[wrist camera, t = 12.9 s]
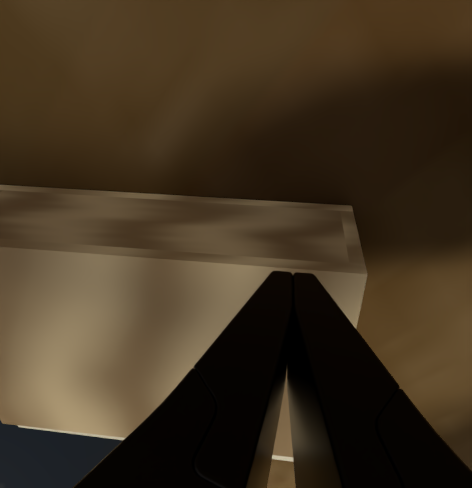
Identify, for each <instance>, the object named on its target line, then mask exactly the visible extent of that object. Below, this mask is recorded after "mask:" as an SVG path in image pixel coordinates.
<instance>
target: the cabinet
mask: <svg viewBox="0 0 472 488" xmlns="http://www.w3.org/2000/svg"><path fill="white" fill-rule="evenodd" d="M272 271H287V272H291V273H292V274H294V273H295V272H300V273H312V274H314V275H315V276H316V277H317V279H318V280H319V281H320V282H321V284H322V285H323V286H324V288H325V289H326V290H327V292H328V293H329V294H330V296H331V297H332V298H333V300H334V301H335V302H336V303H337V305H338V306H339V307H340V309H341V310H342V311H343V313H344V314H345V315H346V317H347V318H348V319H349V320H350V322H351V323H352V324H353V326H354V327H355V328H357V323H358V318H359V313H360V308H361V304H362V299H363V294H364V289H365V284H366V279H367V275H368V274H367V270H366V265H365V261H364V256H363V252H362V248H361V243H360V239H359V235H358V230H357V226H356V222H355V217H354V213H353V208H352V206H348V205H332V204H315V203H298V202H281V201H265V200H248V199H231V198H214V197H198V196H181V195H164V194H147V193H131V192H114V191H97V190H80V189H63V188H47V187H30V186H13V185H0V419H1V422H2V423H4V424H13V425H20V426H29V427H37V428H46V429H54V430H63V431H72V432H80V433H89V434H97V435H106V436H114V437H123V438H126V437H127V436H128V435H129V434H130V433H132V432H133V431H134V430H135V429H136V428H137V427H138V426H139V425H140V424H141V423H142V422H143V421H144V420H145V419H146V418H147V417H148V416H149V415H150V414H151V413H152V412H153V411H154V410H155V409H156V408H157V407H158V406H159V405H160V404H161V403H162V402H163V401H164V400H165V399H166V398H167V397H168V395H169V394H170V393H171V392H172V391H173V390H174V389H175V388H176V386H177V385H178V384H179V383H180V382H181V381H182V379H183V378H184V377H185V376H186V375H187V373H188V372H189V371H190V370H191V369H192V368H194V365H195V364H196V363H197V361H198V360H199V359H200V358H201V357H202V355H203V354H204V353H205V352H206V351H207V349H208V348H209V347H210V346H211V345H212V343H213V342H214V341H215V340H216V338H217V337H218V336H219V335H220V334H221V332H222V331H223V330H224V329H225V328H226V326H227V325H228V324H229V323H230V321H231V320H232V319H233V318H234V317H235V315H236V314H237V313H238V312H239V311H240V309H241V308H242V307H243V306H244V305H245V303H246V302H247V301H248V300H249V298H250V297H251V296H252V295H253V294H254V292H255V291H256V290H257V289H258V288H259V286H260V285H261V284H262V283H263V282H264V280H265V279H266V278H267V277H268V275H269V274H270V273H271V272H272ZM273 455H277V456H285V457H293V449H292V438H291V426H290V415H289V403H288V392H287V372H286V381H285V388H284V394H283V400H282V405H281V411H280V416H279V422H278V427H277V433H276V438H275V444H274V449H273Z"/></svg>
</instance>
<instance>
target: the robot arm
mask: <svg viewBox="0 0 472 488" xmlns="http://www.w3.org/2000/svg"><path fill="white" fill-rule="evenodd" d="M286 372H287V392H288V403H289V415H290V426H291V438H292V449H293V461H294V472H295V484H296V488H472V471H471V470H470V469H469V468H468V467H467V466H466V465H465V464H464V463H463V461H462V460H461V459H460V458H459V457H458V456H457V455H456V454H455V453H454V451H453V450H452V449H451V448H450V447H449V446H448V445H447V444H446V443H445V441H444V440H443V439H442V438H441V437H440V436H439V435H438V434H437V432H436V431H435V430H434V429H433V428H432V426H431V425H430V424H429V423H428V422H427V420H426V419H425V418H424V417H423V415H422V414H421V413H420V412H419V410H418V409H417V408H416V407H415V405H414V404H413V403H412V402H411V400H410V399H409V398H408V396H407V395H406V394H405V392H404V391H403V390H402V389H399V388H400V387H399V385H398V383H397V382H396V381H395V379H394V378H393V377H392V376H391V374H390V373H389V372H388V370H387V369H386V368H385V366H384V365H383V364H382V362H381V361H380V360H379V359H378V357H377V356H376V355H375V353H374V352H373V351H372V349H371V348H370V347H369V345H368V344H367V343H366V341H365V340H364V339H363V338H362V336H361V335H360V334H359V332H358V331H357V330H356V328H355V327H354V326H353V324H352V323H351V322H350V320H349V319H348V318H347V317H346V315H345V314H344V313H343V311H342V310H341V309H340V307H339V306H338V305H337V303H336V302H335V301H334V300H333V298H332V297H331V296H330V294H329V293H328V292H327V290H326V289H325V288H324V286H323V285H322V284H321V282H320V281H319V280H318V279H317V277H316V276H315V275H314V274H312V273H300V272H295V273H294V274H292V273H291V272H287V271H272V272H271V273H270V274H269V275H268V277H267V278H266V279H265V280H264V282H263V283H262V284H261V285H260V286H259V288H258V289H257V290H256V291H255V292H254V294H253V295H252V296H251V297H250V298H249V300H248V301H247V302H246V303H245V305H244V306H243V307H242V308H241V309H240V311H239V312H238V313H237V314H236V315H235V317H234V318H233V319H232V320H231V321H230V323H229V324H228V325H227V326H226V328H225V329H224V330H223V331H222V332H221V334H220V335H219V336H218V337H217V338H216V340H215V341H214V342H213V343H212V345H211V346H210V347H209V348H208V349H207V351H206V352H205V353H204V354H203V355H202V357H201V358H200V359H199V360H198V361H197V363H196V364H195V365H194V368H192V369H191V370H190V371H189V372H188V373H187V375H186V376H185V377H184V378H183V379H182V381H181V382H180V383H179V384H178V385H177V386H176V388H175V389H174V390H173V391H172V392H171V393H170V394H169V395H168V397H167V398H166V399H165V400H164V401H163V402H162V403H161V404H160V405H159V406H158V407H157V408H156V409H155V410H154V411H153V412H152V413H151V414H150V415H149V416H148V417H147V418H146V419H145V420H144V421H143V422H142V423H141V424H140V425H139V426H138V427H137V428H136V429H135V430H134V431H133V432H132V433H130V434H129V435H128V436H127V437H126V438H125V439H124V440H123V441H122V442H121V443H120V444H119V445H118V446H117V447H116V448H115V449H113V450H112V451H111V452H110V453H109V454H108V455H107V456H106V457H105V458H104V459H103V460H102V461H101V462H100V463H99V464H98V465H96V466H95V467H94V468H93V469H92V470H91V471H90V472H89V473H88V474H87V475H86V476H85V477H84V478H83V479H82V480H80V481H79V482H78V483H77V484H76V485H75V486H74V487H73V488H267V483H268V477H269V472H270V466H271V461H272V455H273V449H274V444H275V438H276V433H277V427H278V422H279V416H280V411H281V405H282V400H283V394H284V388H285V381H286Z"/></svg>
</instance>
